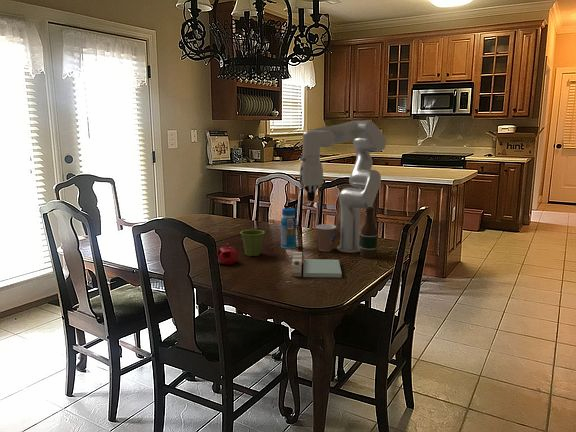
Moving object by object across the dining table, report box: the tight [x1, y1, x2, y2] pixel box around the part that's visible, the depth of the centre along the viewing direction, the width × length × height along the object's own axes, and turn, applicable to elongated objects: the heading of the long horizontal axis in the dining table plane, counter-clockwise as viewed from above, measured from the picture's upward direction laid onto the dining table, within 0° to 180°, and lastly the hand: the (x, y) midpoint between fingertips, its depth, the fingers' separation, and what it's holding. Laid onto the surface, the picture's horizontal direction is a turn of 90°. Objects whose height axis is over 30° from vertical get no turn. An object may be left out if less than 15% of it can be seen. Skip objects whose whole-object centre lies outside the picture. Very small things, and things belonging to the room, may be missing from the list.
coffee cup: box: [315, 223, 337, 252], centre depth 240 cm, size 10×10×12 cm
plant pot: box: [239, 229, 266, 257], centre depth 230 cm, size 12×12×11 cm
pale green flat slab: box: [302, 258, 343, 279], centre depth 207 cm, size 20×16×2 cm
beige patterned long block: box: [291, 251, 303, 277], centre depth 207 cm, size 20×4×6 cm, turn 177°
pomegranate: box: [216, 243, 239, 266], centre depth 217 cm, size 10×10×9 cm
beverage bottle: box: [280, 207, 298, 250], centre depth 243 cm, size 8×8×20 cm
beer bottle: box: [359, 206, 378, 260], centre depth 226 cm, size 8×8×24 cm
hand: (310, 200), depth 212 cm, fingers closed
